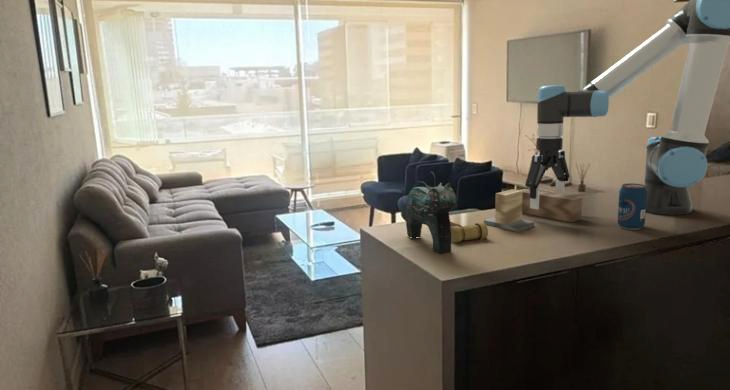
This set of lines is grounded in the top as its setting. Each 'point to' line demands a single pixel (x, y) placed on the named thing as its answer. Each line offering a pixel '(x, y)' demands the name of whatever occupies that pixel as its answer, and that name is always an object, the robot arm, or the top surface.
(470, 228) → the gavel
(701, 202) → the top surface
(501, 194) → the fulcrum
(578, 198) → the walnut beam
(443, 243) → the ceramic cat
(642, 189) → the soda can
